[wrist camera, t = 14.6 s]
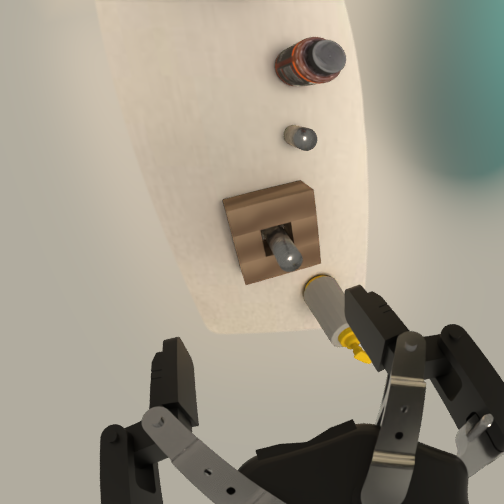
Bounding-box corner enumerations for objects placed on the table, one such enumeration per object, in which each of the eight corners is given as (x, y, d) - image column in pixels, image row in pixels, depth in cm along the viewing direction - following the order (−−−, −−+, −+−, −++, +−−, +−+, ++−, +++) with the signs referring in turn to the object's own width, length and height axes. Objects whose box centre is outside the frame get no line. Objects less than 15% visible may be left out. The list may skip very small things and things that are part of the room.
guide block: (222, 199, 41) (226, 211, 36) (300, 180, 42) (313, 189, 37) (240, 267, 47) (245, 285, 43) (309, 248, 48) (320, 263, 43)
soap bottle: (316, 307, 55) (355, 376, 39) (293, 292, 52) (331, 366, 36) (341, 283, 53) (388, 348, 38) (320, 265, 50) (369, 334, 34)
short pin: (282, 127, 37) (293, 130, 33) (301, 123, 37) (315, 126, 33) (285, 147, 39) (297, 152, 34) (304, 143, 39) (318, 148, 35)
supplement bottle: (305, 93, 35) (343, 92, 26) (267, 76, 33) (294, 66, 24) (320, 60, 33) (361, 49, 23) (282, 42, 31) (314, 22, 21)
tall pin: (258, 219, 43) (277, 254, 34) (277, 214, 44) (301, 247, 34) (261, 236, 45) (281, 274, 35) (280, 231, 45) (303, 268, 36)
